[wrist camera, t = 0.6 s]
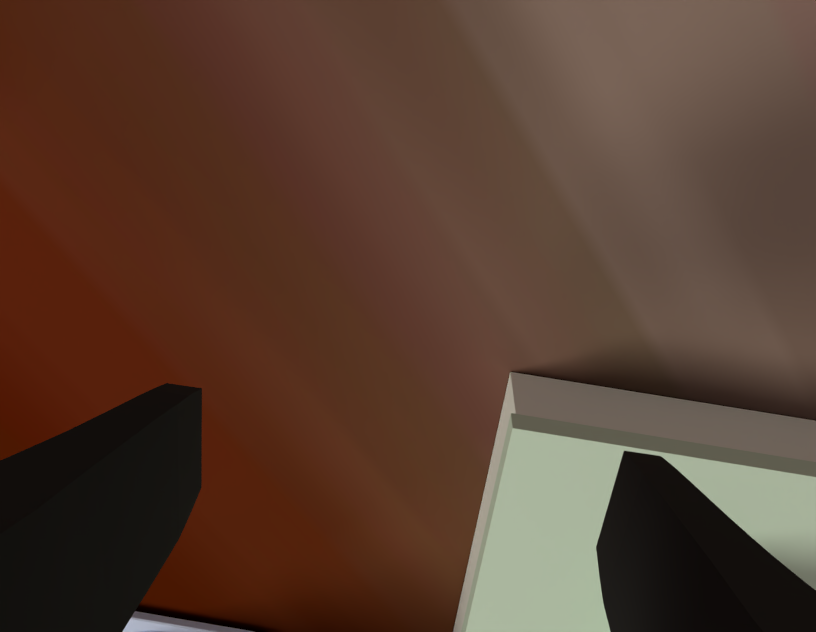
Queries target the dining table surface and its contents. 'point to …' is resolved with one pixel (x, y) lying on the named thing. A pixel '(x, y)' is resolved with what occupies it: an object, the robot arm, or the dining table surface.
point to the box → (637, 430)
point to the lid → (585, 511)
